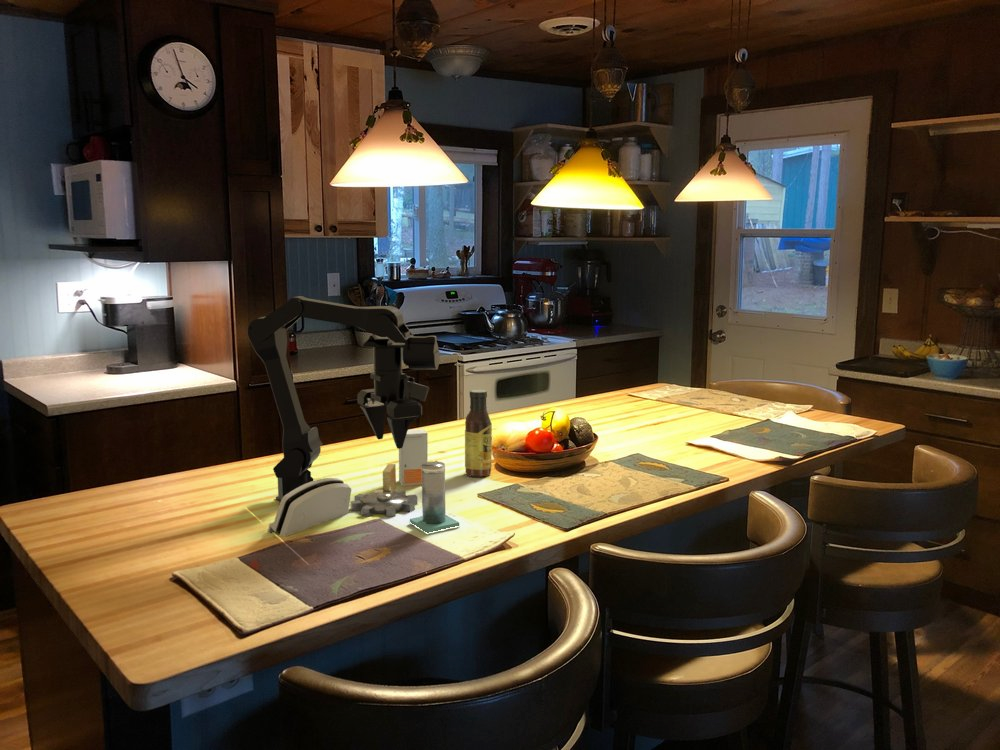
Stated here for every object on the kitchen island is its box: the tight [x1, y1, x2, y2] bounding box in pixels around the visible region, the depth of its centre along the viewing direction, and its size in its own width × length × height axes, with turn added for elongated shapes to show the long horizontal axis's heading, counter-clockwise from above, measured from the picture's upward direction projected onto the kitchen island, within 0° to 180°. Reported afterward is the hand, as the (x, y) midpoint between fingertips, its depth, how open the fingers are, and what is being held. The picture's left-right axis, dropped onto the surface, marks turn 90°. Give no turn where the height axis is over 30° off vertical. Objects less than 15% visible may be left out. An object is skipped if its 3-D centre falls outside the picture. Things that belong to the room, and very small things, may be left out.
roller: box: [421, 460, 447, 524], centre depth 161 cm, size 4×4×11 cm
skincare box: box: [398, 428, 429, 487], centre depth 190 cm, size 6×4×12 cm
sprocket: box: [349, 463, 418, 518], centre depth 174 cm, size 16×13×6 cm
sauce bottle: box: [464, 389, 493, 478], centre depth 196 cm, size 7×6×20 cm
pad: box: [409, 514, 460, 533], centre depth 162 cm, size 7×7×1 cm
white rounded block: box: [267, 477, 352, 538], centre depth 163 cm, size 17×5×10 cm, turn 145°
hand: (389, 443), depth 174 cm, fingers open, 9 cm apart
